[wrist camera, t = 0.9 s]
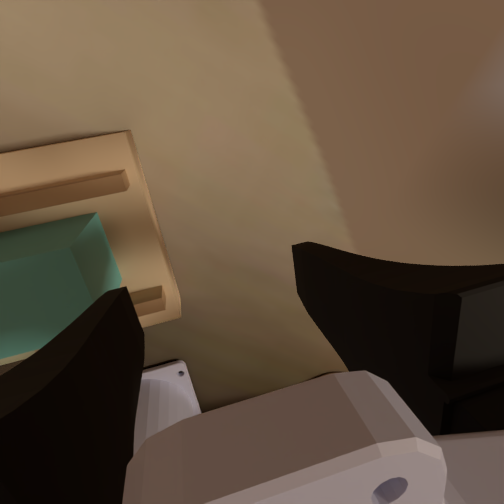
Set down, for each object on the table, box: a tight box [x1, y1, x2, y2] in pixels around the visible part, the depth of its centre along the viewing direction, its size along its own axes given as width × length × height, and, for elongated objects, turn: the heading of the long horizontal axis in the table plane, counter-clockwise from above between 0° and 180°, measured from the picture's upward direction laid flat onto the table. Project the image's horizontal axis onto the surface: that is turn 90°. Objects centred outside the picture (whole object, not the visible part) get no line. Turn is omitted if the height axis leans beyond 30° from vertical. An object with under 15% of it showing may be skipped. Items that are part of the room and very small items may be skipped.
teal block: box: [0, 212, 122, 359], centre depth 15 cm, size 4×5×5 cm
